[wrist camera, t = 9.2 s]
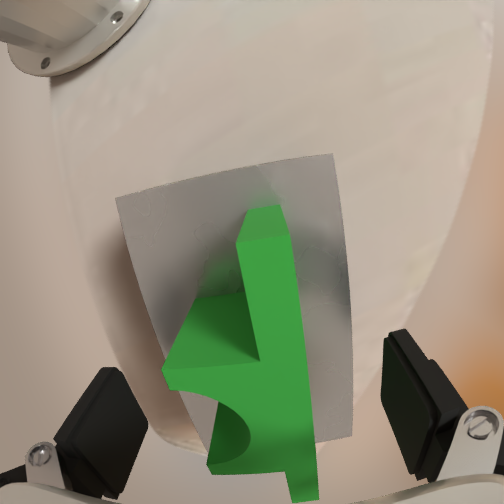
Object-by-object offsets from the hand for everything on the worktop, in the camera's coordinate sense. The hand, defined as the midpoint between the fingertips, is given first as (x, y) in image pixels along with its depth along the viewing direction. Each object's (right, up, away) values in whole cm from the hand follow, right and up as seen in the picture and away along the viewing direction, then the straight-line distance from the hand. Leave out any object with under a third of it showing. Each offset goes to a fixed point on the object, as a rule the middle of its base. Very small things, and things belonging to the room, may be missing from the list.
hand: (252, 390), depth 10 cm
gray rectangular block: (0, +2, +8) cm, 9 cm away
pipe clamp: (0, +1, +3) cm, 3 cm away
